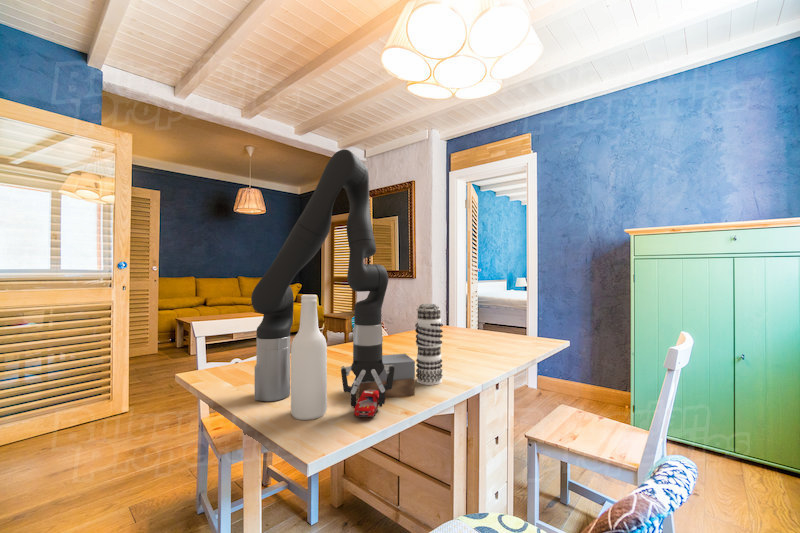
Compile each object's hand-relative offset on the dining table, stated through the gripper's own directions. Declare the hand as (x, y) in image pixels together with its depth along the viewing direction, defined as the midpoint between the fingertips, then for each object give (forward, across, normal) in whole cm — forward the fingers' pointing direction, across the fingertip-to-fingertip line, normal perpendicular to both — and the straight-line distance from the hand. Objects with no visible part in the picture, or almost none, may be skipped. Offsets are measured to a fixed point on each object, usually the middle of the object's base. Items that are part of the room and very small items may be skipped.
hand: (367, 406), depth 91 cm
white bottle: (+1, +15, -1) cm, 15 cm away
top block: (-3, -6, -14) cm, 16 cm away
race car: (+1, 0, 0) cm, 1 cm away
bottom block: (+2, -6, -14) cm, 15 cm away
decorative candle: (+1, -22, -21) cm, 31 cm away
